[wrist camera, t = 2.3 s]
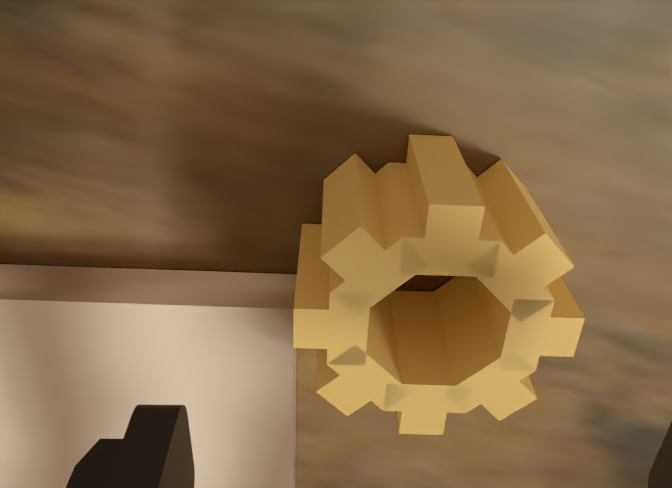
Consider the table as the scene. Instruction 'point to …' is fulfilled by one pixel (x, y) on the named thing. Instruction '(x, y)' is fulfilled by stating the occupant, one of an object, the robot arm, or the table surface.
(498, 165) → the gear
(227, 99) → the table surface
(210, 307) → the gear board
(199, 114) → the table surface
